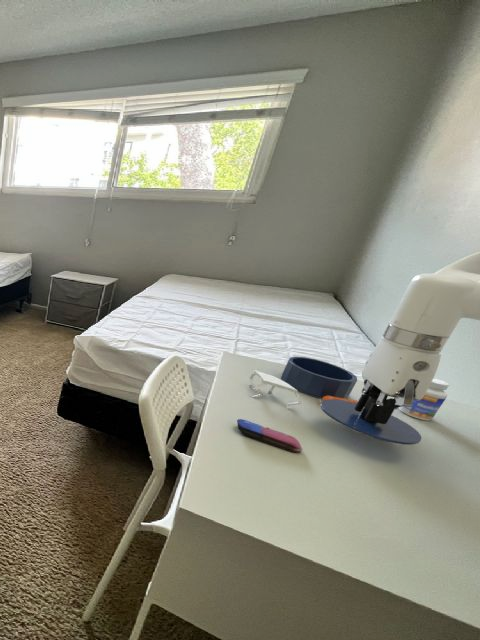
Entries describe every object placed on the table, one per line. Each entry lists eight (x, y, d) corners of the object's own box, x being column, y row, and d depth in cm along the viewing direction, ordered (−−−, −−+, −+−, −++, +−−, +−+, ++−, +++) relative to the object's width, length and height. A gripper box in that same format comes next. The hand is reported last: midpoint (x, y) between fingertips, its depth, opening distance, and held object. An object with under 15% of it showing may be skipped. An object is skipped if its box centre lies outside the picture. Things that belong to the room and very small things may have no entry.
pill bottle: (411, 418, 85) (433, 384, 81) (391, 406, 90) (411, 373, 86) (438, 423, 84) (462, 388, 80) (417, 410, 89) (438, 377, 85)
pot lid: (388, 413, 78) (402, 390, 76) (440, 456, 66) (458, 430, 63) (306, 397, 83) (317, 374, 81) (340, 433, 71) (353, 408, 68)
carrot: (371, 403, 86) (319, 393, 89) (380, 405, 83) (327, 395, 86) (369, 414, 86) (317, 404, 89) (378, 417, 83) (325, 406, 86)
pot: (330, 382, 100) (339, 363, 98) (358, 406, 88) (369, 386, 86) (273, 370, 105) (281, 352, 103) (292, 392, 93) (301, 373, 91)
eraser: (298, 445, 73) (302, 438, 72) (302, 456, 69) (306, 449, 69) (233, 422, 78) (236, 416, 77) (234, 432, 75) (237, 425, 74)
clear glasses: (236, 390, 92) (242, 374, 90) (248, 383, 96) (255, 367, 95) (293, 415, 83) (301, 398, 81) (304, 405, 87) (312, 389, 85)
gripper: (478, 359, 59) (422, 446, 65) (409, 327, 73) (368, 401, 80) (417, 350, 61) (369, 434, 68) (362, 321, 76) (327, 393, 82)
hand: (369, 416), depth 74 cm, fingers closed on pot lid, 2 cm apart
